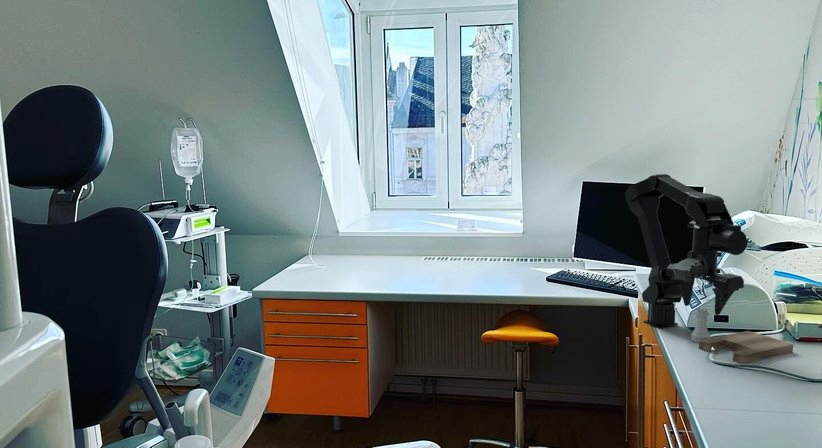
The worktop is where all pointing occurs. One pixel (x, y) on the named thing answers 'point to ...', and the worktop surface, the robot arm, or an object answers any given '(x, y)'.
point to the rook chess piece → (700, 326)
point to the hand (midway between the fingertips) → (701, 310)
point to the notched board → (748, 346)
